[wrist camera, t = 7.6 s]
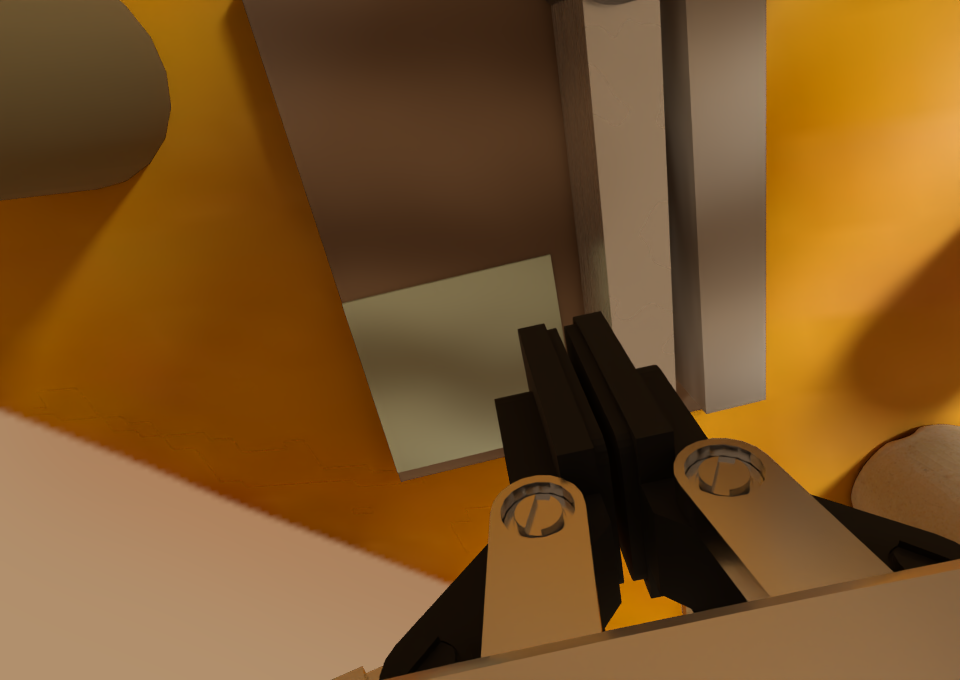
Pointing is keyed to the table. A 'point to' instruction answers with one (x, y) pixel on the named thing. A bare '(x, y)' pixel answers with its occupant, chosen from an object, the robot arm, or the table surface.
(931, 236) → the table surface
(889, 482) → the flower pot
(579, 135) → the jaw
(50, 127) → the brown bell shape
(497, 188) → the board
